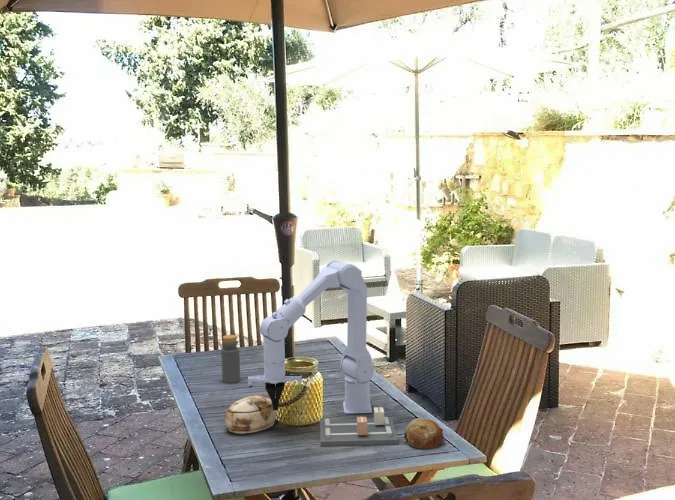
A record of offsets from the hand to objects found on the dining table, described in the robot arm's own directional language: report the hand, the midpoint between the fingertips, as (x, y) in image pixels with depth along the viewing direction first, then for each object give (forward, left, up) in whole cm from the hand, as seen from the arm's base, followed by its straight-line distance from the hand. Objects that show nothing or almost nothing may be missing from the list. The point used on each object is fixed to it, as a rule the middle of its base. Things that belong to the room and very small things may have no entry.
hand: (275, 409), depth 211 cm
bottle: (-43, -17, -5) cm, 47 cm away
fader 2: (+4, +28, -3) cm, 28 cm away
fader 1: (+10, +23, -3) cm, 25 cm away
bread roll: (+13, +39, -5) cm, 42 cm away
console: (+7, +22, -5) cm, 24 cm away
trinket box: (-1, -7, -5) cm, 9 cm away
